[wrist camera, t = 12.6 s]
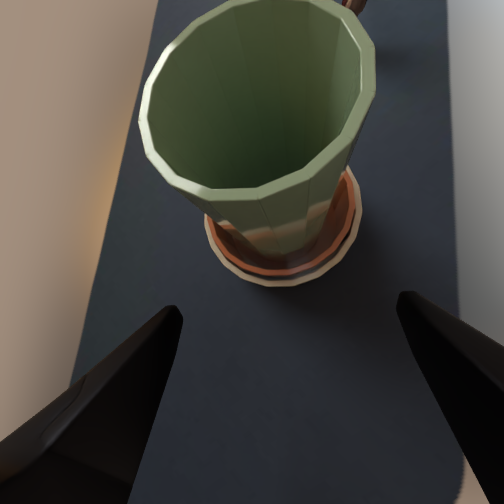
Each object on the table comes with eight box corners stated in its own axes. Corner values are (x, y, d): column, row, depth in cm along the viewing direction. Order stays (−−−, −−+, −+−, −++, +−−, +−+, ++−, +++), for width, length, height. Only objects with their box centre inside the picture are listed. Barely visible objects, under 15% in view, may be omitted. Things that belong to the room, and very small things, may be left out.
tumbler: (334, 245, 17) (430, 130, 5) (256, 273, 18) (163, 238, 6) (304, 175, 18) (315, -50, 6) (233, 204, 19) (123, 59, 7)
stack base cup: (377, 231, 17) (401, 214, 13) (270, 313, 17) (262, 320, 13) (290, 145, 19) (289, 110, 16) (202, 219, 20) (179, 202, 16)
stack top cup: (365, 230, 17) (391, 207, 12) (271, 302, 17) (261, 307, 13) (289, 154, 19) (286, 110, 14) (211, 219, 20) (183, 197, 15)
